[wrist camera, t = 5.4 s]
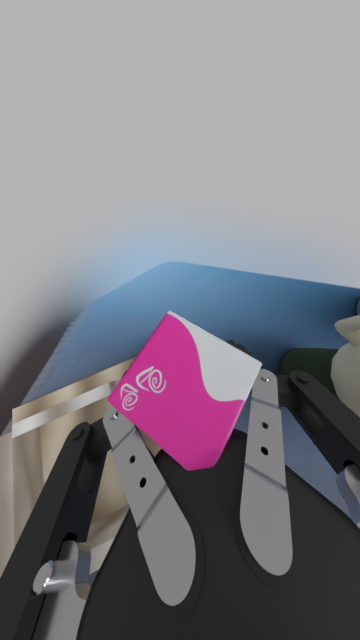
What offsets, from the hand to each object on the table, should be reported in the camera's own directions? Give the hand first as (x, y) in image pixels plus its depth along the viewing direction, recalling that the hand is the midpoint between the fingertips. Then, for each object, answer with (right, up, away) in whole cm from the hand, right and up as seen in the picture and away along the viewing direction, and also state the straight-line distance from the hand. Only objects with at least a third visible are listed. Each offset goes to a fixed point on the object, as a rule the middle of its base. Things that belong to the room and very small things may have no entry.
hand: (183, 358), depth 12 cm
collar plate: (-10, -11, +3) cm, 15 cm away
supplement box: (+1, -3, +5) cm, 6 cm away
